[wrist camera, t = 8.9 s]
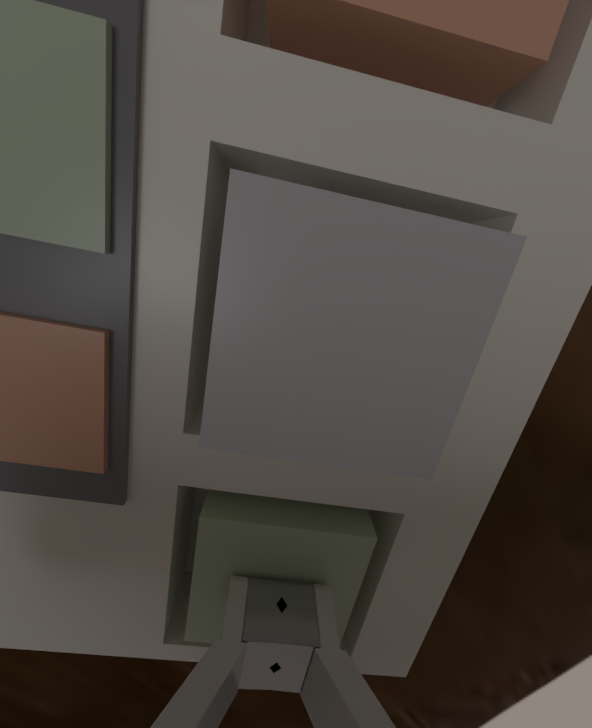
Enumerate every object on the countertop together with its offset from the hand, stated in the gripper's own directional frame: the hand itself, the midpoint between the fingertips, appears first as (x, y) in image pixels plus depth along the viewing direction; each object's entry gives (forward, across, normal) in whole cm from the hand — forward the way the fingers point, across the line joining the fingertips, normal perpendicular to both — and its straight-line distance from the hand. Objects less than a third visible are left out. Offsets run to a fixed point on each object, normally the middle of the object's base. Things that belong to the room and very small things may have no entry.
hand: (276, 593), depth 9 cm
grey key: (+1, 0, +8) cm, 8 cm away
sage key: (+2, 0, 0) cm, 2 cm away
